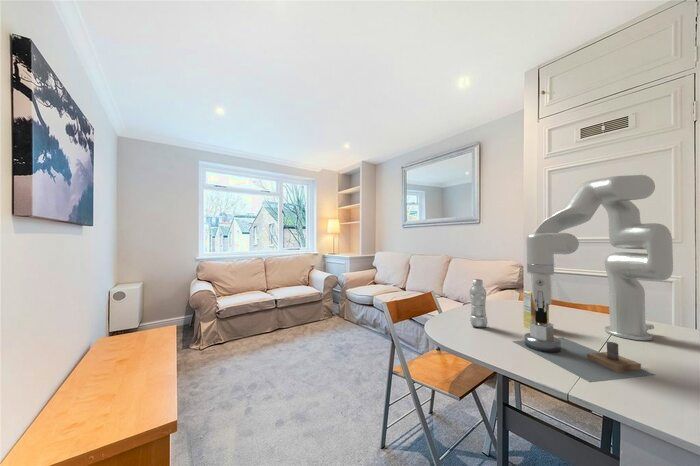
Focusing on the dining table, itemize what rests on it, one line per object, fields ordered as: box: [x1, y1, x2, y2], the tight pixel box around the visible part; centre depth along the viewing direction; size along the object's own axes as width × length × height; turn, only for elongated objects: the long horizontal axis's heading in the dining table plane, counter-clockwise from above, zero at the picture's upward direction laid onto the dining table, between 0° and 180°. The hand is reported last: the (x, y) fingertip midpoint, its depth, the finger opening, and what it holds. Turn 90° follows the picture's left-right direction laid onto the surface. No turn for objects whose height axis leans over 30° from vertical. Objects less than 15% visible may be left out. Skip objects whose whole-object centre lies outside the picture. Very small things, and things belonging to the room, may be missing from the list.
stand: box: [587, 341, 642, 372], centre depth 77 cm, size 8×8×6 cm
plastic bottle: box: [469, 278, 488, 329], centre depth 112 cm, size 6×7×20 cm
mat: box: [511, 336, 656, 383], centre depth 83 cm, size 21×27×1 cm
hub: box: [524, 323, 561, 353], centre depth 90 cm, size 10×10×8 cm
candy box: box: [522, 290, 550, 330], centre depth 109 cm, size 9×4×15 cm, turn 103°
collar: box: [529, 321, 555, 342], centre depth 90 cm, size 6×6×5 cm
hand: (541, 322), depth 90 cm, fingers closed
